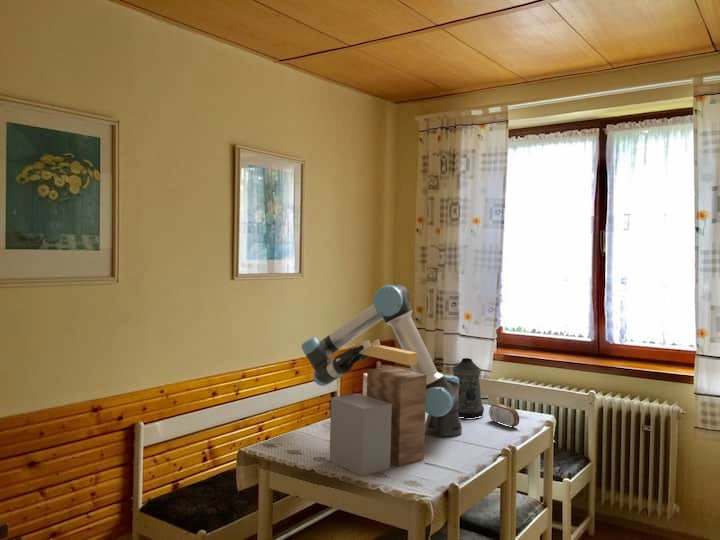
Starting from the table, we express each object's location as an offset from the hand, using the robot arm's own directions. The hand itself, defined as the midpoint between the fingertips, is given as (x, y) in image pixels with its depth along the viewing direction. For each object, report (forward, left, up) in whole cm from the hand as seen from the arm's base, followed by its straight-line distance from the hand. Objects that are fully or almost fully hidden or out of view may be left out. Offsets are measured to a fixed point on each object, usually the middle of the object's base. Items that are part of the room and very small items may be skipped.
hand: (374, 343), depth 230 cm
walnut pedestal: (-9, +9, -39) cm, 41 cm away
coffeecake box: (+2, -33, -39) cm, 51 cm away
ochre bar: (-5, +5, -5) cm, 8 cm away
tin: (-53, -39, -39) cm, 77 cm away
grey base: (+2, +20, -39) cm, 44 cm away
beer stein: (-37, -54, -39) cm, 77 cm away
